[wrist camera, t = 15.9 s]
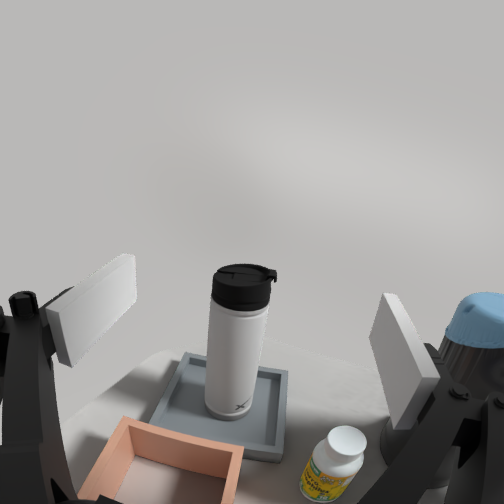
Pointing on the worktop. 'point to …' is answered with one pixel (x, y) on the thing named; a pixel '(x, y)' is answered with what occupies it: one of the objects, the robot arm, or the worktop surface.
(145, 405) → the worktop surface
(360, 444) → the supplement bottle
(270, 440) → the grey tray
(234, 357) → the travel mug
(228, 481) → the square planter box
